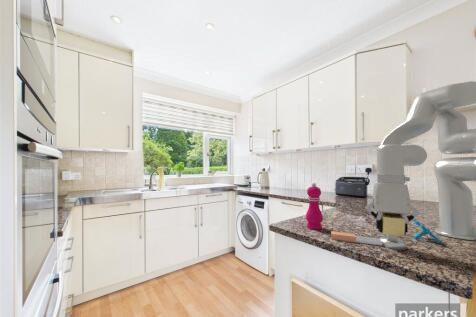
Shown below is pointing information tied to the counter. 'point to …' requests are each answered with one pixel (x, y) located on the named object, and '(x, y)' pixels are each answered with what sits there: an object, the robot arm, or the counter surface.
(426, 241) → the counter surface
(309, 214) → the pepper mill
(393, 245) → the ratchet
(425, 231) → the teal branched frame
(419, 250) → the counter surface
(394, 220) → the olive open-top box
